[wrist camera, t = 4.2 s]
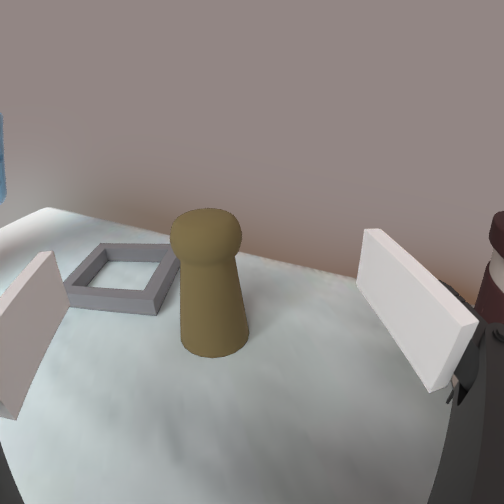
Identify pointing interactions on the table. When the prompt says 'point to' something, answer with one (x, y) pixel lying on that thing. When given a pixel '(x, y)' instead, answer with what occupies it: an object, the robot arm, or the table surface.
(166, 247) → the gray square frame
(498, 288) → the coffee cup
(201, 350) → the cork
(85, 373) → the table surface
